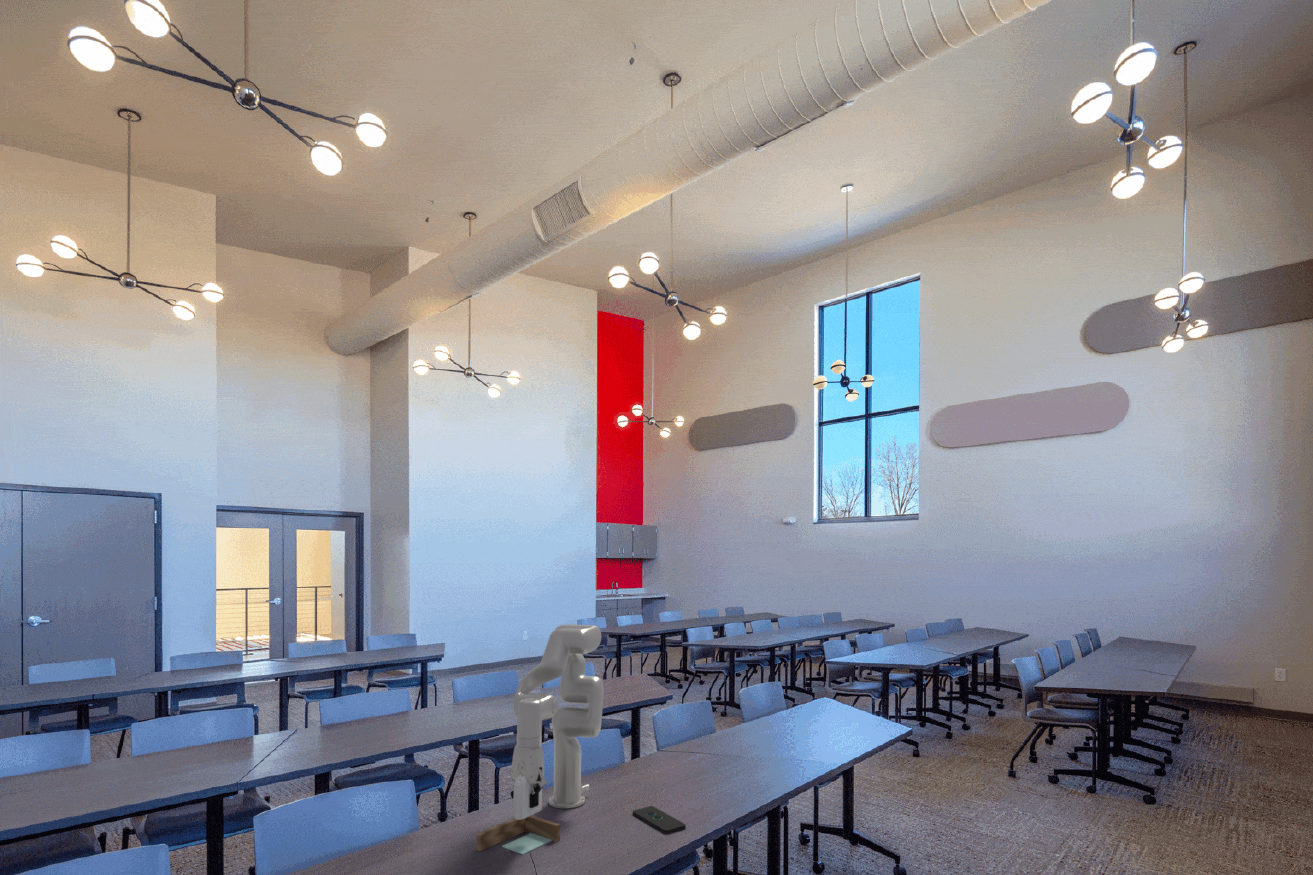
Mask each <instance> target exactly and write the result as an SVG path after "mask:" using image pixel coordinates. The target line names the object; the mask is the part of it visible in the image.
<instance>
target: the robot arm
mask: <svg viewBox="0 0 1313 875" xmlns="http://www.w3.org/2000/svg"><path fill="white" fill-rule="evenodd" d="M601 642H602V632H601V628H600V627H598V626H597V625H594V624H593V625H592V624H560V625H558V626H556V627H555V629H554V630H553V631H552V632H551V634H550V635H549V637H548V640H547V643H546V646H545V649H544V652H543V654H542V658H541V659H540V663H539V664H538V665H536V666H534V668H533V669H532V670H530V671H529V672H528V673H526V674H525V675H524V676H523V678H522V679H521V680H520V682H519V684H518V686H517V688H516V691H515V695H514V697H513V701H512V712H513V714H514V715H515V716H516V717H517V723H516V726H517V727H516V737H515V738H516V744H515V745H514V749H513V752H512V753H513V754H512V761H511V774H510V777H511V779H512V780H513V783H514V782H515V780H516V778H517V777H518V776H520V775H522V776H523V775H524V776H525V777H526V780H527V783H528V784H530V786H531V794H530V808H533V807H536V806H538V805H539V792H540V791H541V789H542V790H543V788H544V787H546V785H547V780H546V777H545V757H544V748H543V746H542V744H543V741H542V740H543V734H542V731H543V721H547V720H550V719H551V728H552V733H553V734H552V735H553V795H552V796H550V797H549V798H548V804H549V806H551V807H552V808H556V809H573V808H578V807H580V806H583V805H584V804H585V802H586V796H584V795H583V794H584V792H586V791H589V790H590V784H587V783H586V784H583V785H582V746H581V743H580V742H579V740H578V739H577V738H596V737H597V736H599V734H600V731H601V729H602V719H603V707H604V695H605V693H604V692H605V691H604V690H605V689H604V688H605V687H604V683H603V680H602V678H600V677H599V676H594V675H586V664H587V663H586V662H587V661H586V659H585V657H584V655H586V654H589V653H591V652H593V651H595V650H597V648H599V646H600V644H601ZM558 678H560V682H559V699H560V700H561V702H564V703H567V704H579V705H581V704H582V705H587V707H577V706H576V707H574V706H573V707H572V706H563V707H559V701H558V697H556V696H555V695H553V694H550V693H537V692H532V691H533V690H534V689H536V688H537V687H539V686H541V685H543V684H545V683H548V682H550V681H553V680H555V679H558ZM539 781H540V782H539ZM534 784H536V787H535V786H534Z"/></svg>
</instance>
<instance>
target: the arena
mask: <svg viewBox="0 0 1313 875" xmlns="http://www.w3.org/2000/svg"><path fill="white" fill-rule="evenodd" d="M524 832H527V833H528V834H530V833H534V834H537V835H540V836H542V837H545V838H548V839H551V840H552V842H556V843H557V842H559V841H560V840H561V823H557V822H555V821H551V820H547V819H544V818H541V817H539V816H534V815H531V816H529V817H527V818H524V819H521V820H517V819H514V818H512V819H509V820H507V821H505V822H502V823H499V824H497V825H494V826H492V827H489V828H487V829H485V830H482V831H480V832H478V833H476V851H477V852H482V851H484V850H486V849H488V848H491V847H492V846H495V845H498V844H499V843H502V842H504V841H507V840H508V839H511V838H513V837H516V836H517V835H520V834H522V833H524Z"/></svg>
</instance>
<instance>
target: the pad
mask: <svg viewBox="0 0 1313 875" xmlns="http://www.w3.org/2000/svg"><path fill="white" fill-rule="evenodd" d="M550 842H553V840H551V839H548V838H545V837H542V836H540V835H537V834H534V833H527V834H526V835H524V836H521V837H519V838H517V839H514V840H513V841H510V842H508V843H505V844H503V845H502V846H501V848H503V849H505V850H509V851H512V852H514V853H516V854H519V855H523V856H524V855H526V854H527V853H530V852H532V851H533V850H536V849H538V848H540V847H542V846H544V845H547V844H549V843H550Z"/></svg>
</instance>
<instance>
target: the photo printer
mask: <svg viewBox="0 0 1313 875" xmlns="http://www.w3.org/2000/svg"><path fill="white" fill-rule="evenodd" d="M539 782H540V781H539ZM534 786H535V787H536V784H534ZM530 794H531V786H530V784H528V783H527V780H526V777H525V776H524V775H523V776H522V775H520V776H518V777H517V778H516V780H515V782H514V781H513V797H512V799H513V800H512V801H513V804H512V817H513V819H517V820H521V819H524V818H527V817H529V816H531V815H532V816H534V815H535V814H537V813H538V812H541V811H542V810H543V809H542V808H543V807H542V806H543V805H542V804H543V788H542V789H541V791H540V792H539V805H538V806H536V807H533V808H530Z"/></svg>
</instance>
